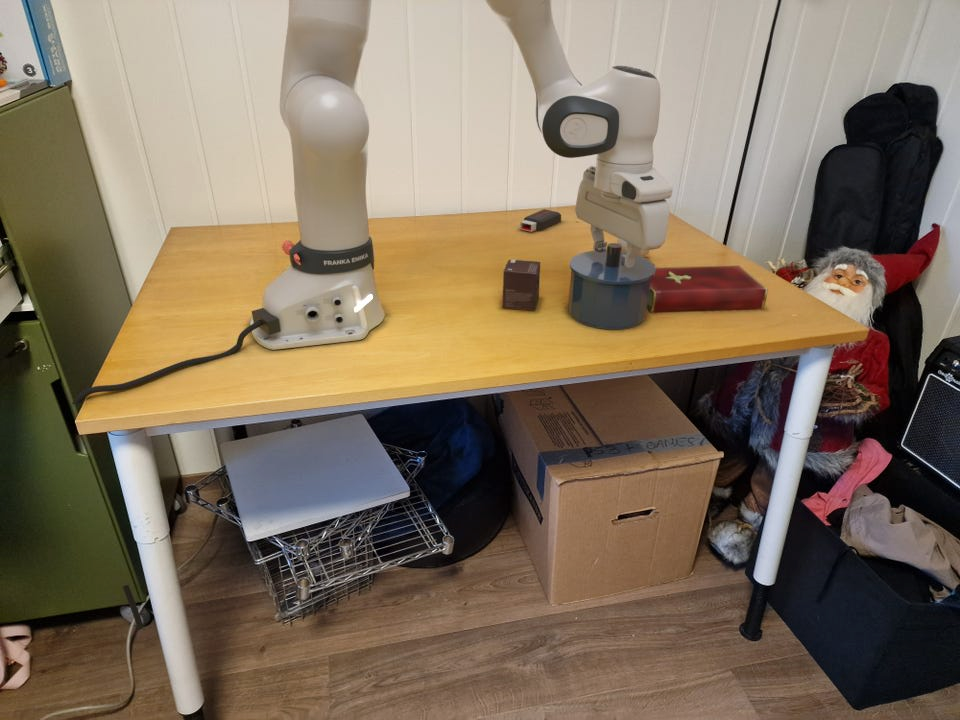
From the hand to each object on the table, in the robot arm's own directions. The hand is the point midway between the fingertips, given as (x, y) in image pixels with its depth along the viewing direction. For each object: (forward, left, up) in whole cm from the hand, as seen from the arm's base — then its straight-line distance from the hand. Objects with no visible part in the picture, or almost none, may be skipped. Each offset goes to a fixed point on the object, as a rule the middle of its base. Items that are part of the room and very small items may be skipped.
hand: (613, 258), depth 111 cm
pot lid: (0, 0, -2) cm, 2 cm away
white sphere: (+23, +20, -10) cm, 32 cm away
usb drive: (+15, +48, -10) cm, 51 cm away
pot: (0, 0, -10) cm, 10 cm away
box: (-12, +10, -10) cm, 19 cm away
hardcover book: (+19, -2, -10) cm, 22 cm away
